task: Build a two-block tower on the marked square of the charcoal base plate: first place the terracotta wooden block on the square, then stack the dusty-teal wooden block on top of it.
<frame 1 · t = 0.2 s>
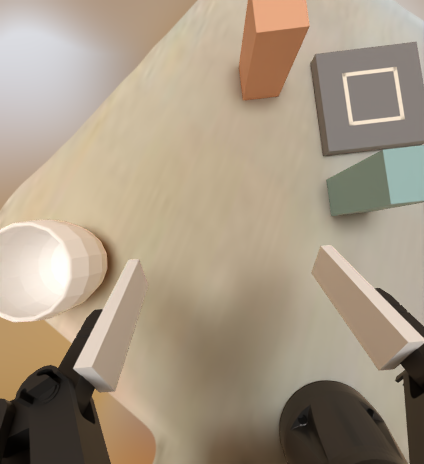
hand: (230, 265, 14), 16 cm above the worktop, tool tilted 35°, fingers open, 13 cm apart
base plate: (365, 103, 30), on the worktop
teal block: (347, 195, 30), on the worktop
cup: (85, 261, 30), on the worktop
terracotta block: (258, 81, 31), on the worktop
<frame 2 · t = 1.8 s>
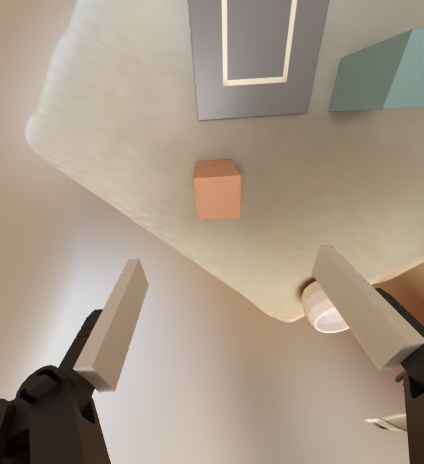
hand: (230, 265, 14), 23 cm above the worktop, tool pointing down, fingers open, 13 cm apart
base plate: (254, 43, 23), on the worktop
teal block: (354, 85, 26), on the worktop
cup: (316, 286, 50), on the worktop
terracotta block: (214, 177, 33), on the worktop
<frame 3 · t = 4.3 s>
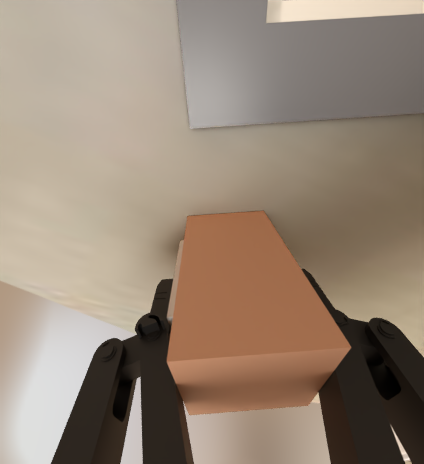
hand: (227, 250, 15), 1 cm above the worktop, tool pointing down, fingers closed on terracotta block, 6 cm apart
terracotta block: (226, 243, 16), on the worktop, touching gripper
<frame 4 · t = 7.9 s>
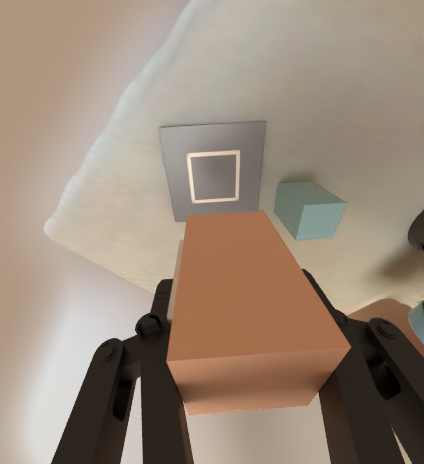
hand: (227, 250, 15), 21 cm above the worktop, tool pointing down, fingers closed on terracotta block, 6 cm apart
base plate: (213, 176, 32), on the worktop
teal block: (291, 197, 35), on the worktop
terracotta block: (225, 243, 16), point 20 cm above the worktop, touching gripper
when the fingers open (4 cm above the worktop, at t = 11.5 s): terracotta block drops 1 cm, resting on base plate.
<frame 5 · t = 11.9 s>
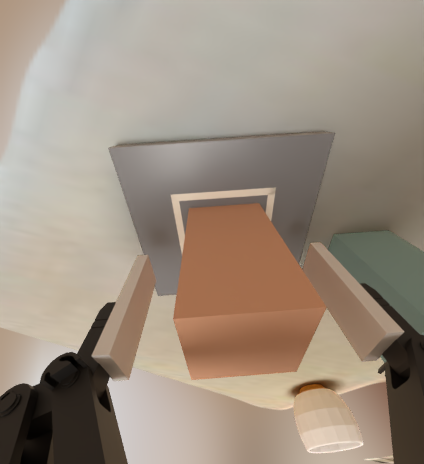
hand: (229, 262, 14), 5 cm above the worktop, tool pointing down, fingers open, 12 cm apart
base plate: (222, 226, 18), on the worktop
teal block: (351, 253, 21), on the worktop
cup: (310, 387, 45), on the worktop
terracotta block: (224, 234, 17), point 1 cm above the worktop, touching base plate
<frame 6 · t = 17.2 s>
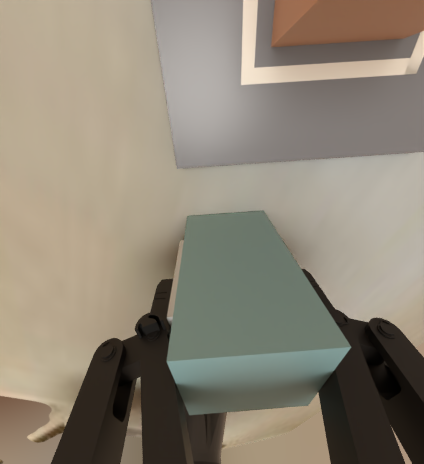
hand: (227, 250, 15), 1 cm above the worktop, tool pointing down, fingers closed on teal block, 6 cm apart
teal block: (225, 243, 16), on the worktop, touching gripper
when the fingers open (14 cm above the worktop, at t = 23.5 s): teal block drops 1 cm, resting on terracotta block.
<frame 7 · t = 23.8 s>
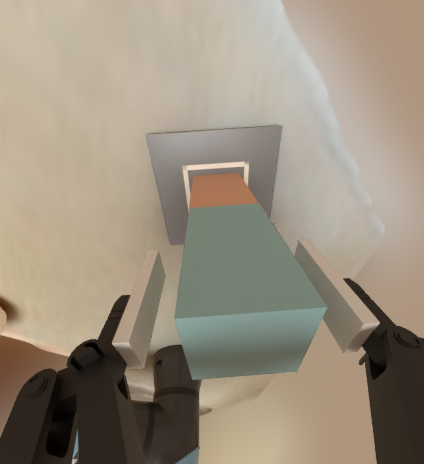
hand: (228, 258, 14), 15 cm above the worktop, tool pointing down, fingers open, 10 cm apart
base plate: (216, 191, 27), on the worktop
teal block: (225, 234, 17), point 11 cm above the worktop, touching terracotta block
terracotta block: (217, 195, 25), point 1 cm above the worktop, touching base plate, teal block
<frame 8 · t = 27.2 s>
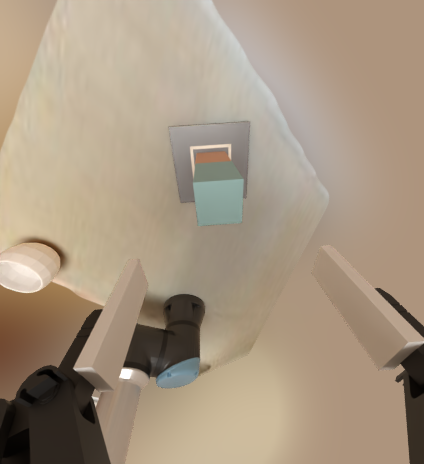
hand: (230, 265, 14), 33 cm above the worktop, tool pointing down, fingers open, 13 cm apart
base plate: (211, 165, 41), on the worktop
teal block: (214, 180, 31), point 11 cm above the worktop, touching terracotta block
cup: (45, 252, 52), on the worktop
terracotta block: (211, 166, 40), point 1 cm above the worktop, touching base plate, teal block
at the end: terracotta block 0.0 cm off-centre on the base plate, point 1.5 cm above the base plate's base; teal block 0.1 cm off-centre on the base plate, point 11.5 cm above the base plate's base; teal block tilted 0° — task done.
